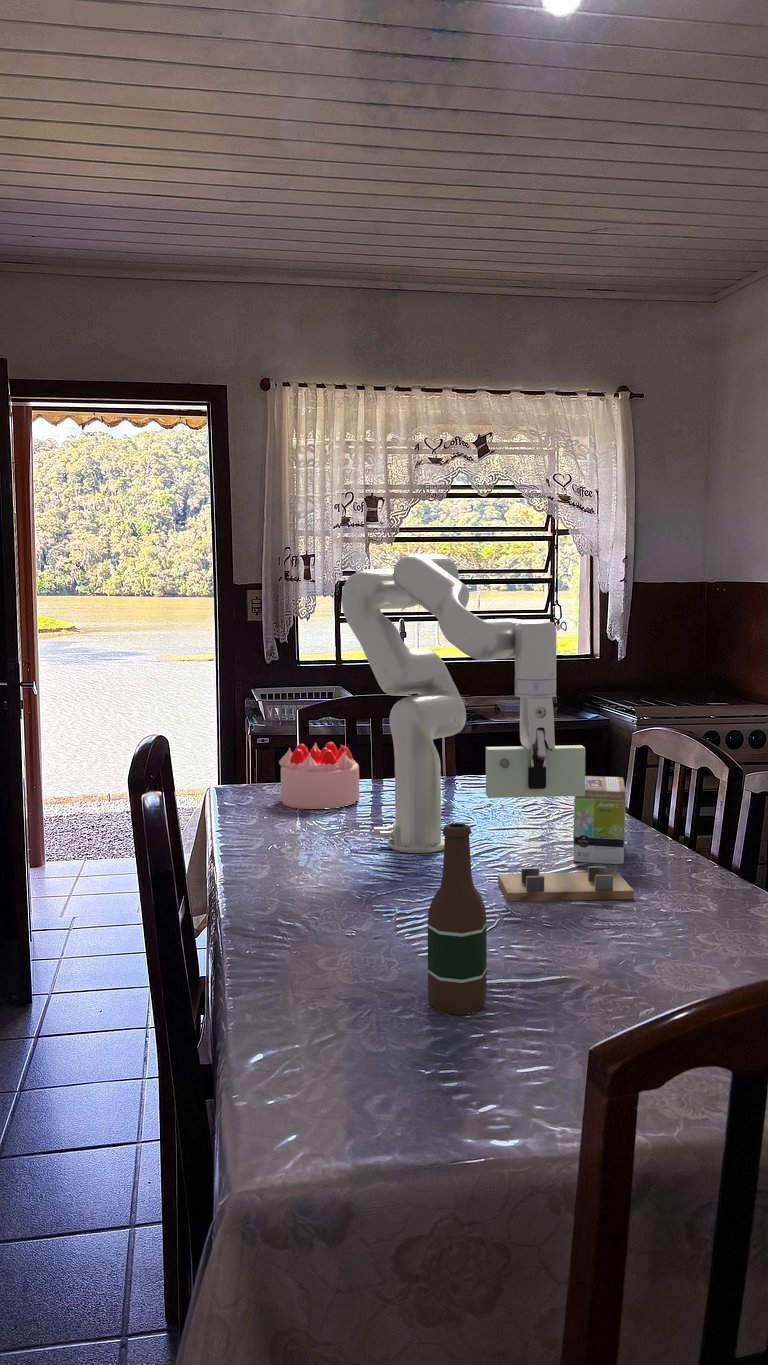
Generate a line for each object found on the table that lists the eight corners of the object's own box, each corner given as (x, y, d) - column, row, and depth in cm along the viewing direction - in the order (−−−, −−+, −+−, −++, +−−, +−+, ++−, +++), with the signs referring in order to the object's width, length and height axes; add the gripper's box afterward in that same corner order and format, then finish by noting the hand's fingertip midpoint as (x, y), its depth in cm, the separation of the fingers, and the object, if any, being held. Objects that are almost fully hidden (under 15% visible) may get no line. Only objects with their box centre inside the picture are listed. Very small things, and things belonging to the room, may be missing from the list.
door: (488, 799, 181) (488, 750, 180) (485, 794, 185) (485, 746, 184) (586, 797, 181) (586, 748, 180) (581, 792, 185) (581, 745, 184)
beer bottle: (424, 992, 133) (423, 818, 131) (481, 990, 134) (481, 817, 131) (431, 1018, 126) (431, 833, 123) (492, 1015, 126) (492, 831, 124)
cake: (357, 810, 238) (357, 752, 237) (275, 811, 239) (274, 753, 237) (360, 793, 258) (360, 739, 256) (284, 793, 258) (283, 740, 257)
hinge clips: (527, 891, 171) (527, 877, 171) (521, 881, 177) (521, 867, 176) (612, 889, 171) (613, 875, 171) (604, 879, 177) (604, 866, 177)
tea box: (625, 865, 191) (626, 790, 190) (572, 863, 193) (573, 788, 192) (622, 845, 206) (623, 775, 204) (573, 842, 208) (574, 773, 206)
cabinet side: (507, 901, 170) (507, 893, 170) (498, 882, 181) (498, 874, 181) (633, 899, 171) (633, 890, 171) (616, 879, 182) (616, 871, 182)
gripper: (565, 692, 173) (564, 795, 175) (546, 683, 190) (546, 777, 191) (523, 693, 173) (522, 796, 175) (507, 683, 189) (507, 778, 191)
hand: (535, 785), depth 183 cm, fingers closed on door, 3 cm apart
